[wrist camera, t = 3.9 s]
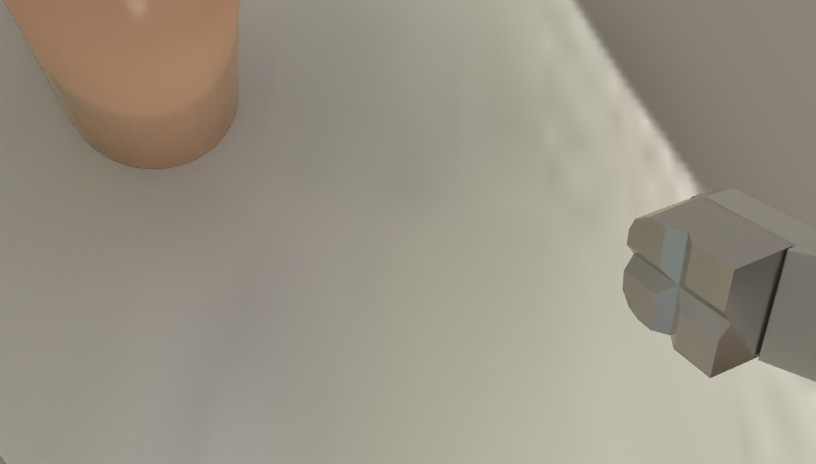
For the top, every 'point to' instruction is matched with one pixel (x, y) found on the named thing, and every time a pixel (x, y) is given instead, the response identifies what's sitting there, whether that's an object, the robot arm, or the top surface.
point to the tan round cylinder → (139, 72)
